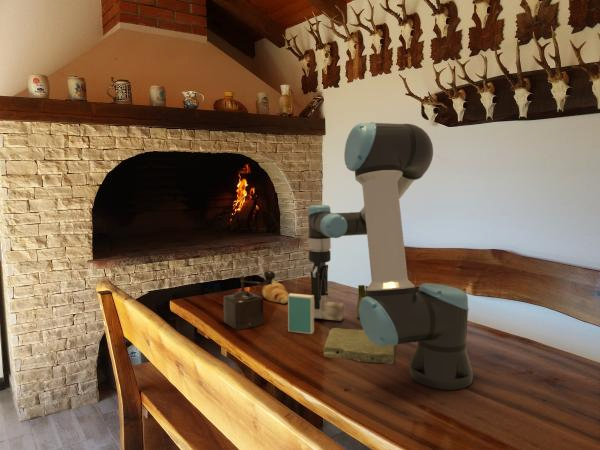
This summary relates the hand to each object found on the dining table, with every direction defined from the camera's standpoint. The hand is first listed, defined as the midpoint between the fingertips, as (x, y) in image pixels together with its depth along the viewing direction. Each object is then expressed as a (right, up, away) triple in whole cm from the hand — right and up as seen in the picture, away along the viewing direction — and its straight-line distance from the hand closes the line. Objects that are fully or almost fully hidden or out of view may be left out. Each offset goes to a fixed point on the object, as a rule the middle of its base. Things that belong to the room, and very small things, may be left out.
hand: (319, 315), depth 159 cm
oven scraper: (0, 0, 0) cm, 0 cm away
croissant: (-17, +1, +26) cm, 31 cm away
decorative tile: (+11, -5, -26) cm, 29 cm away
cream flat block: (-7, -3, -12) cm, 14 cm away
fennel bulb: (+16, -1, 0) cm, 16 cm away
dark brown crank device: (-24, -2, -3) cm, 24 cm away
